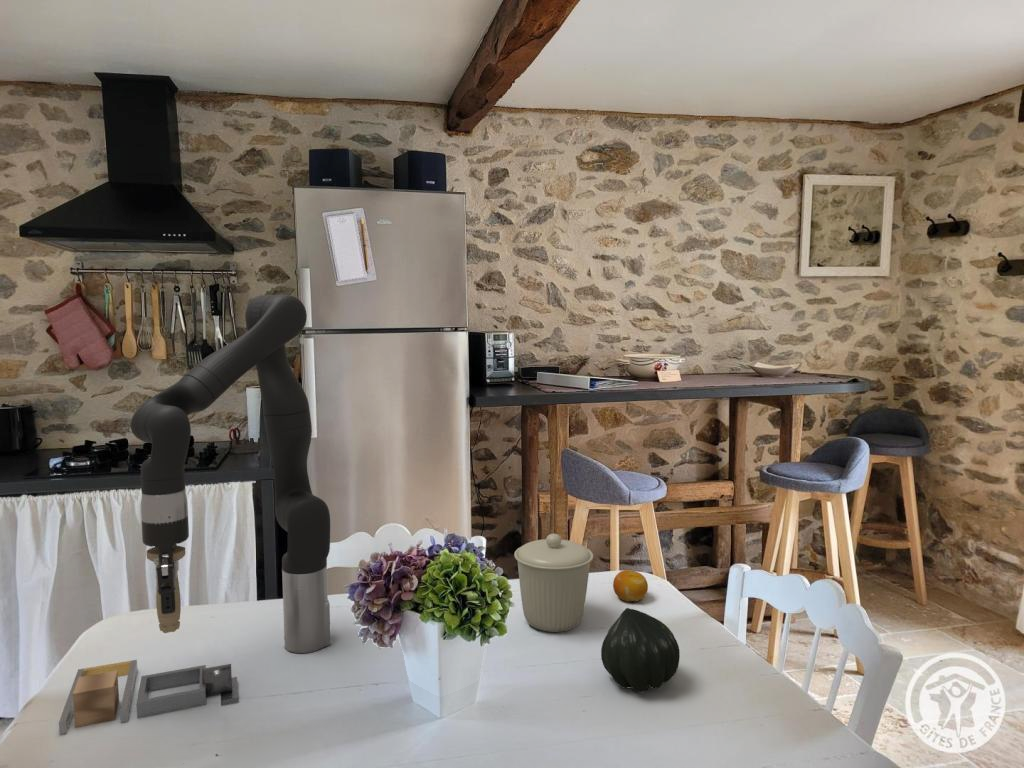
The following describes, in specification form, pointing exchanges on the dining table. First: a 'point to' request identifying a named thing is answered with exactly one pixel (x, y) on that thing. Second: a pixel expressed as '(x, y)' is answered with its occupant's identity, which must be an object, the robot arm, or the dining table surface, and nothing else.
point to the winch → (209, 684)
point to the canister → (553, 582)
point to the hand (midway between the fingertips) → (169, 607)
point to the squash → (640, 651)
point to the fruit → (630, 585)
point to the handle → (171, 619)
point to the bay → (121, 668)
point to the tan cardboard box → (96, 698)
